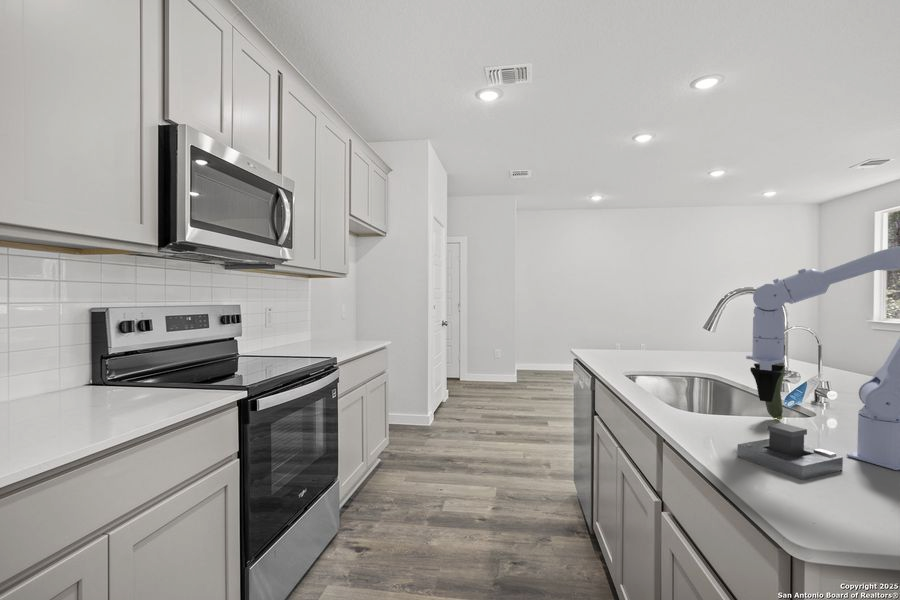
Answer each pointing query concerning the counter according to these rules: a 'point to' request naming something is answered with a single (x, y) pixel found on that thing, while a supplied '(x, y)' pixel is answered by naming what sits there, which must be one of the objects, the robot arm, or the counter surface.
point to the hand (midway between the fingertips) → (766, 397)
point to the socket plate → (791, 460)
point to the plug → (786, 439)
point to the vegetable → (776, 399)
